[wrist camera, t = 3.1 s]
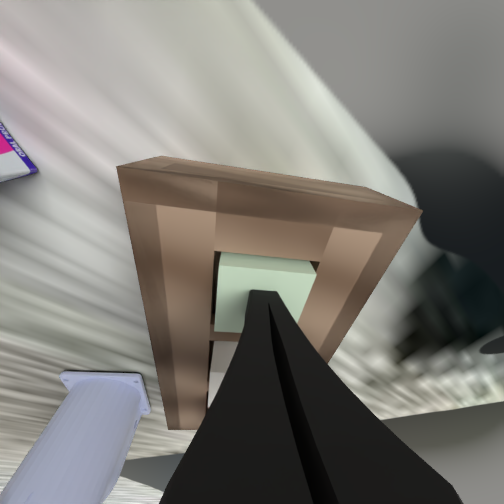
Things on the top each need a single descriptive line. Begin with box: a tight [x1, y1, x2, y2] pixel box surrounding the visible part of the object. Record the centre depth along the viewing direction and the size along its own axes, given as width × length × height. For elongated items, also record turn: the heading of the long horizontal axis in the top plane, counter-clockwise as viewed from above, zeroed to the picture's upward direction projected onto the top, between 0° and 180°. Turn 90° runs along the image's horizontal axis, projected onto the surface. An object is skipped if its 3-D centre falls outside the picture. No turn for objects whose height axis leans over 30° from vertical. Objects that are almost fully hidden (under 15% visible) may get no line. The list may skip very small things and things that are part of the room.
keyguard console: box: [116, 156, 423, 430], centre depth 15 cm, size 24×12×4 cm, turn 172°
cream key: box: [208, 341, 238, 407], centre depth 13 cm, size 4×4×4 cm
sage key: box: [214, 252, 317, 333], centre depth 11 cm, size 4×4×4 cm
